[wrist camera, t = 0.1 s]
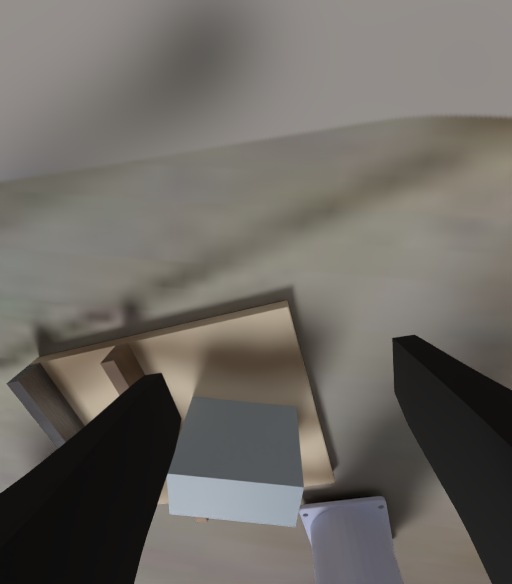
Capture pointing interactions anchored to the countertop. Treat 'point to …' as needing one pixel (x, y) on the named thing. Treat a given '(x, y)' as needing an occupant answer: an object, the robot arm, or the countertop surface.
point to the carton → (237, 463)
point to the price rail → (46, 403)
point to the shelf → (203, 372)
